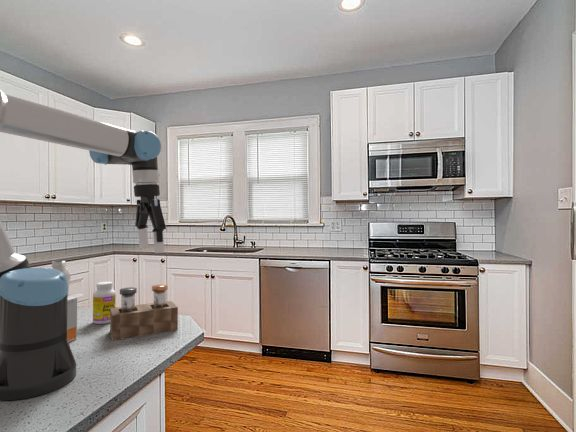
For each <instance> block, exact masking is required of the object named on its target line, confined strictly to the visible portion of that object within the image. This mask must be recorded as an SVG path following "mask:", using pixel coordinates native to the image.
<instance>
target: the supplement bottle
mask: <svg viewBox="0 0 576 432" xmlns="http://www.w3.org/2000/svg"><path fill="white" fill-rule="evenodd" d="M113 284H114V283H113V282H112V281H100V282H97V283H96V288H97V289H96V290H95V291H94V292H93V293H92V294H93V295H92V323H93V324H95V325H104V324H105V325H106V324H110V308H116V304H117V303H116V297H117V296H116V294H117V293H116V290H114V289H113V287H114V286H113Z"/></svg>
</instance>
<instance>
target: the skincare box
mask: <svg viewBox="0 0 576 432" xmlns="http://www.w3.org/2000/svg"><path fill="white" fill-rule="evenodd" d="M77 333H78V297H74V296H68V301H67V341H68V343H70V342H73V341H76V340H77V335H78V334H77Z"/></svg>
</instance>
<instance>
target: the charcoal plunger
mask: <svg viewBox="0 0 576 432" xmlns="http://www.w3.org/2000/svg"><path fill="white" fill-rule="evenodd" d="M137 291H138V289H137V287H122V288H120V289H119V295H121V307H122V311H121V313H124V312H131V311H135V304H136V301H135V300H136V298H135V297H136V294H137V293H138V292H137Z"/></svg>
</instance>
